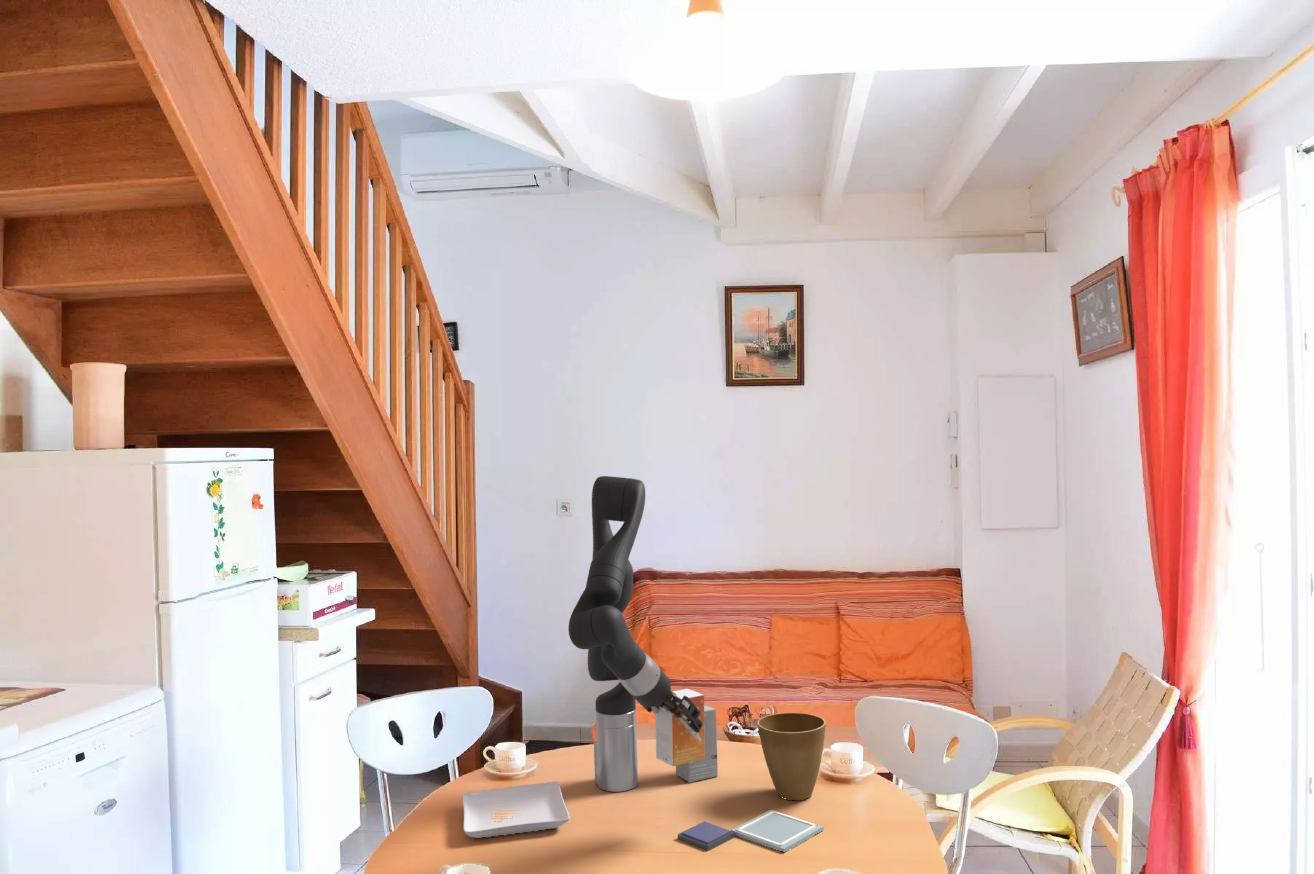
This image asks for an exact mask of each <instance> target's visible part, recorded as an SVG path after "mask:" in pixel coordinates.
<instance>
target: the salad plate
mask: <svg viewBox="0 0 1314 874" xmlns="http://www.w3.org/2000/svg"><path fill="white" fill-rule="evenodd" d="M461 801H462V809H463V826H462V828H463V832H464V834H465V835H466V836H468V837H471V838H475V839H483V838H482V837H486V838H492V837H491V836H496V837H499V836H498V835H504V836H506V835H505V834H512V835H516V834H515V833H520V834H524V833H523V832H528V833H532V832H531V831H535V832H539V831H538V830H542V831H546V830H545V829H548V830H552V829H556V828H559V827H562V826H564V825H566V823H568V822H569V821H570V819H571V818H570V813H569V810H568V808H567V806H566V803H565V801H564V797H563V793H562V788H561V786H560V783H559V782H558V781H550V782H540V783H533V784H522V785H514V786H508V787H500V788H492V789H486V790H479V791H478V790H477V791H472V792H471V791H470V792H465V793H463V794H462V796H461ZM499 808H500V809H499ZM510 808H511V809H510ZM493 810H516V811H506V812H505V811H504V812H498V811H493ZM517 810H519V811H517ZM520 810H521V811H520ZM523 810H525V811H523ZM491 813H493V814H492V815H491ZM494 813H510V814H507V815H506V814H505V815H497V814H496V815H495V814H494ZM511 813H512V814H511ZM513 813H514V814H513ZM515 813H516V814H515ZM491 816H492V817H491ZM494 816H505V817H502V818H508V819H503V820H501V819H500V820H499V819H491V818H501V817H494ZM506 816H507V817H506ZM512 816H513V817H512ZM510 818H511V819H510ZM512 818H513V819H512ZM494 821H496V822H494ZM497 821H502V822H497Z"/></svg>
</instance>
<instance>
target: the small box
mask: <svg viewBox="0 0 1314 874" xmlns="http://www.w3.org/2000/svg"><path fill="white" fill-rule="evenodd" d="M672 691H673V692H674V693H675V694H676V695H677V696H678V697H679V698H680V699H682V698H683V696H687V697H688V698H689V699H690V700H691V701H692V703H693V704H694V705H695V706H696V707H697V709H698V710H699V711H700V712H701V713H700V715H699V717H698V719H699V720H700V721H701V722H702V724H703V725H702V727H701V729H700V731H699V732H698V733H697V732H694V730H693V729H692V728H691V727H690V726H689V725H688V724H687V723H686V722H685V721H684V720H682V719H681V718H678V719H677V718H675V717H673V716H672V715H671V714H669V713H668V712H664V711H663V710H661V709H659V708H658V709H659V711H658V713H656V715H655V750H656V751H655V754H656V755H655V756H656V757H655V758H656V759H657V760H659V761H661V762H663V763H665V764H666V765H669V766H671V767H676V765H680V764H684V763H688V762H693V761H697V760H702V759H705V725H704V705H705V694H702V693H701V692H698V691H695V690H692V689H689V688H684V689H683V688H682V689H680V690H679V689H678V690H672ZM678 711H679V708H678V706H677V708H676V710H675V711H674V712H675V713H677V712H678ZM683 715H684V714H683ZM684 716H685V715H684ZM685 717H686V716H685Z"/></svg>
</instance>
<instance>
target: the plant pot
mask: <svg viewBox="0 0 1314 874" xmlns="http://www.w3.org/2000/svg"><path fill="white" fill-rule="evenodd" d="M756 724H757V729H758V734H759V740H760V744H761V750H762V752H763V756H764V759H765V760H764V761H765V763H766V767H767V770H768V772H769V776H770V778H771V781H772V784H773V787H774V788H775V790H776V793H777V795H779V796H780V798H781V797H783V798H786V799H788V800H787V801H792V800H799V801H805V800H807V798H808V799H810V798H811V797H812V795H813V792H814V788H815V786H816V783H817V780H818V776H819V771H820V767H821V762H822V757H823V751H824V745H825V736H826V725H827V723H826V719H825V718H823V717H821V716H819V715H815V714H811V713H805V712H804V713H803V712H778V713H773V714H772V713H771V714H767V715H765V716H763V717H761V718H759V719H758V720H757V723H756ZM779 796H778V797H779ZM783 798H782V799H783ZM786 799H785V800H786Z"/></svg>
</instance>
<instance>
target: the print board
mask: <svg viewBox="0 0 1314 874" xmlns="http://www.w3.org/2000/svg"><path fill="white" fill-rule="evenodd" d="M730 831H733V832H735V837H737V838H741V837H742V838H741V839H744V840H747V841H749V840H750V841H749V842H752V841H753V842H752V843H755V844H757V843H760V844H762V845H761V846H763V845H766V846H768V847H767V848H769V847H770V848H769V849H771V848H775V849H777V850H779V851H778V852H780V851H783V852H785V851H787V852H789V851H790V850H789V849H791V848H792V849H794V848H796V847H797V846H796V845H798V846H799V845H801V844H803V843H804V841H805V840H806V841H808V840H809V838H810V837H812V838H813V837H815V836H816V835H815V834H817V833H819V832H820V833H822V832H824V826H822V825H819V824H816V823H813V822H809V821H808V820H803V819H801V818H799V817H795V816H791V815H789V814H785V813H781V812H779V811H776V810H773V809H769V810H768V811H765V812H764V813H762V814H759V815H758V816H757V815H756V816H755V817H754V818H752V819H749V820H748V821H745V822H743V823H742V824H739V825H737V826H736V827H734V828H732V829H730ZM821 831H822V832H821ZM820 833H819V834H820ZM814 835H815V836H814ZM817 835H818V834H817ZM810 839H811V838H810ZM806 841H805V842H806ZM800 843H801V844H800ZM760 844H759V845H760ZM766 846H765V847H766ZM795 846H796V847H795ZM793 847H794V848H793ZM792 849H791V850H792ZM777 850H776V851H777ZM788 850H789V851H788ZM785 853H786V852H785Z"/></svg>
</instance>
